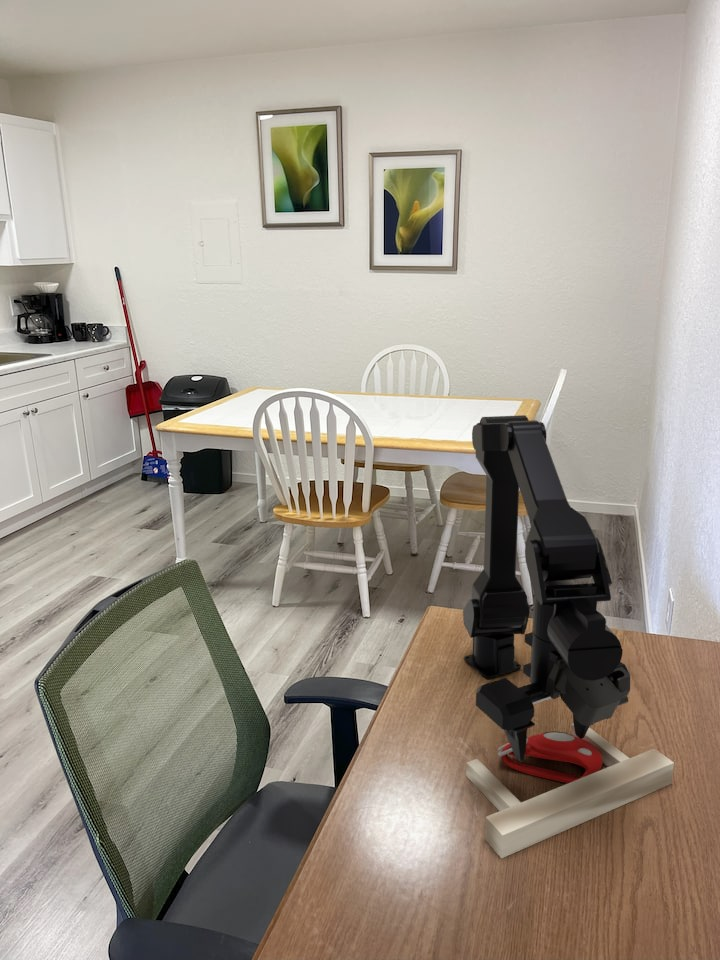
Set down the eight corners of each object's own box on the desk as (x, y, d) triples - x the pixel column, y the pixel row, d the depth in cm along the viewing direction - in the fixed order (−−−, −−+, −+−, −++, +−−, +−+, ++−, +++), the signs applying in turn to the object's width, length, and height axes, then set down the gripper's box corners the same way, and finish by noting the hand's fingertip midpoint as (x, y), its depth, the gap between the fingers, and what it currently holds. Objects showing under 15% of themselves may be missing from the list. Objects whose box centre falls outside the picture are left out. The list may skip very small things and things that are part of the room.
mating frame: (438, 786, 89) (438, 765, 88) (596, 727, 99) (598, 708, 98) (501, 858, 78) (502, 835, 77) (671, 783, 88) (674, 762, 88)
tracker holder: (553, 721, 99) (617, 741, 91) (553, 754, 99) (617, 778, 91) (489, 735, 92) (552, 758, 84) (488, 770, 92) (551, 798, 84)
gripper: (538, 688, 74) (531, 816, 78) (672, 644, 82) (658, 763, 86) (474, 639, 83) (471, 756, 88) (600, 604, 91) (590, 713, 96)
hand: (550, 747), depth 89 cm, fingers open, 9 cm apart
